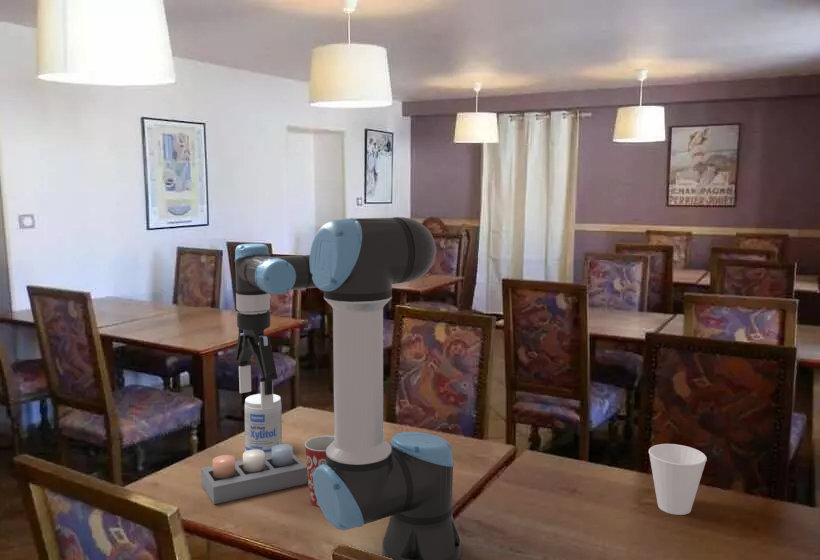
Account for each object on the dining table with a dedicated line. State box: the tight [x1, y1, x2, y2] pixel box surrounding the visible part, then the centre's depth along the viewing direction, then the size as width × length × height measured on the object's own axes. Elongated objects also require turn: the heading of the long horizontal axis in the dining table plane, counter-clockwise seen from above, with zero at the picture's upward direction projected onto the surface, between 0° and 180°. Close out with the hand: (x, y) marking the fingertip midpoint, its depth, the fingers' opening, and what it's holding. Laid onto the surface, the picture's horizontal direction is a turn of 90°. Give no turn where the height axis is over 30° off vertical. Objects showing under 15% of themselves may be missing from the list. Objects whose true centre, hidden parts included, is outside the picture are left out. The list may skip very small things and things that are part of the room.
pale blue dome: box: [272, 443, 294, 466], centre depth 166 cm, size 5×5×4 cm
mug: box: [304, 435, 334, 507], centre depth 156 cm, size 13×9×14 cm
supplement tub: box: [244, 393, 283, 455], centre depth 181 cm, size 10×10×15 cm
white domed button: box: [242, 449, 265, 472], centre depth 162 cm, size 5×5×4 cm
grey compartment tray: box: [200, 453, 308, 505], centre depth 163 cm, size 12×22×4 cm, turn 119°
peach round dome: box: [212, 454, 236, 478], centre depth 159 cm, size 5×5×4 cm
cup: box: [648, 443, 707, 516], centre depth 150 cm, size 12×12×12 cm
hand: (255, 399), depth 162 cm, fingers open, 13 cm apart
